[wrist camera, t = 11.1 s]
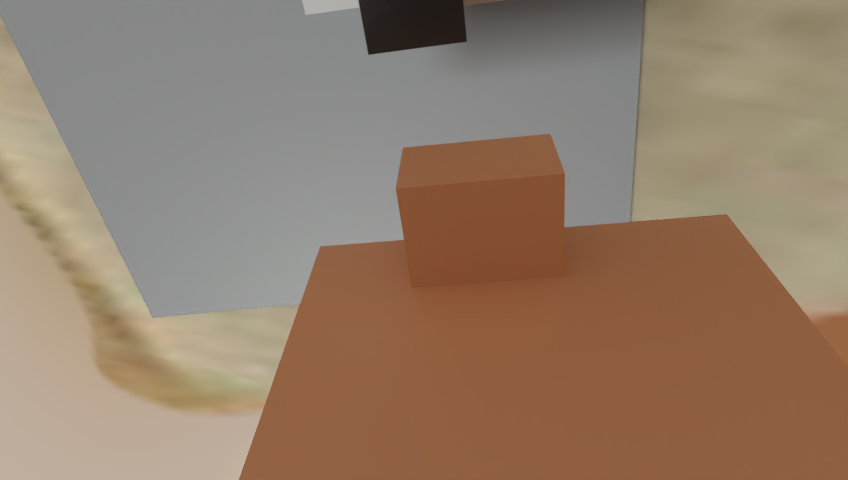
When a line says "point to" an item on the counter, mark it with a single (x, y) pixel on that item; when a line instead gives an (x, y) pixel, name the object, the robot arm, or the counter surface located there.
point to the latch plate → (309, 124)
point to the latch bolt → (413, 23)
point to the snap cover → (546, 344)
